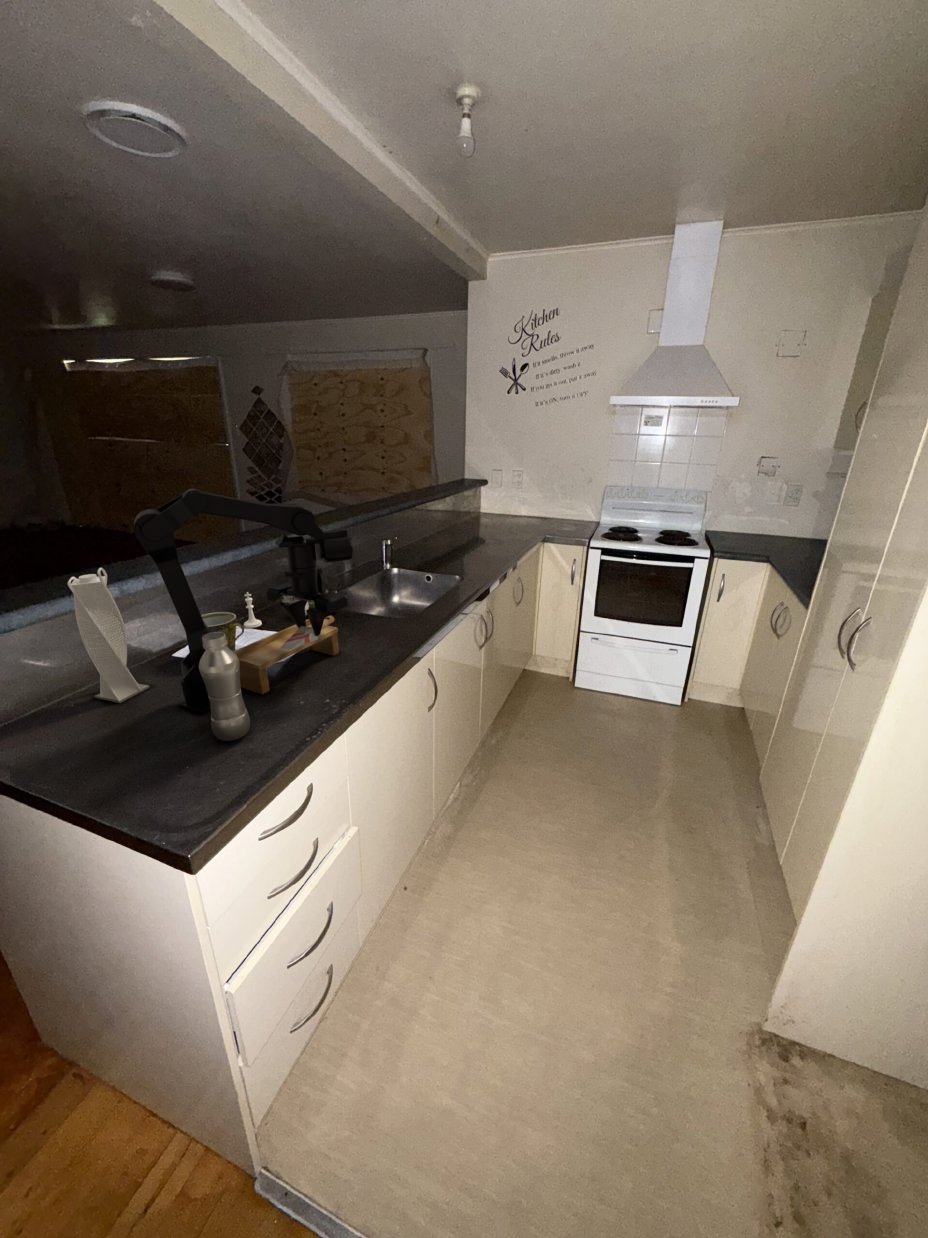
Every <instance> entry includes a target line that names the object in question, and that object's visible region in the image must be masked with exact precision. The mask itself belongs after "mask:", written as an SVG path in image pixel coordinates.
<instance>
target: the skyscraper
mask: <svg viewBox="0 0 928 1238" xmlns="http://www.w3.org/2000/svg"><path fill="white" fill-rule="evenodd" d="M101 572H102V573H101ZM96 573H97V574H96ZM96 573H88V574H83V575H80V576H78V578H77V577H75V576H71V577H70V578H69V579H68V581H67V586H68V588H69V590H70V591H71V592H72V594H73V604H74V605H73V606H74V613H75V619H76V620H75V621H76V624H77V629H78V632H79V635H80V638H81V641H82V643H83V645H84V648H85V649H86V650H85V651H86V652H87V654H88V656H89V659H90V660H91V662H92V664H93V665H94V667H95V668H96V671H97V672H98V674H99V693H98V694H96V695H94V699H98V700H103V701H109V702H113V703H118V704H121V703H123V702H125V701H127V700H128V699H130V698H133V697H135V696H136V695H138V694H140V693H142V692H144V691H146V690H148V689H150V685H148V684H144V683H138V682H137V680H136V678H135V677H134V676H133V675H132V673H131V671H130V670H129V668H128V665H127V664H128V640H127V632H126V626H125V623H124V618H123V616H122V613H121V611H120V608H119V607H118V605H117V602H116V601H115V599H114V597H113V595H112V594H111V592H110V590H109V588H108V585H107V584H108V574H107V572H106V570H105V569H104V568H103V567H99V568H98V569H97V572H96ZM102 574H103V575H102Z"/></svg>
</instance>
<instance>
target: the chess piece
mask: <svg viewBox="0 0 928 1238" xmlns="http://www.w3.org/2000/svg"><path fill="white" fill-rule="evenodd" d="M251 596H252V594H251V593H249V591H247V592H246V593H245V594H244V597H245V599H244V601H245V603H246V606H245V609H248V618H247V620H246V621H244V622H243V627H244V628H245V629H246V628H247V629H254V628H258V627H261V626H262V625H263V623H262V620H261V619H257V618H256V617H255V615H254V611H253V608H254V606H255V605H253V604H252V603H253V598H252V597H251Z"/></svg>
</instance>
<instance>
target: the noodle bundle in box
mask: <svg viewBox="0 0 928 1238" xmlns="http://www.w3.org/2000/svg"><path fill="white" fill-rule="evenodd" d="M334 622H335V617H334V616H333V615H330V616H326V617H325V619H324V622H323V626H322V629H324V628H325V627H327V626H330V625H331V624H333V623H334ZM322 629H321V630H322ZM317 639H318V637H317V636H315V633H314V631H313V629H312V627H304V626H301V627H300V628H299V629H298V630H297V631H296V632H295V633H294V634H293V635H292V636H291V637H290V638H289V639H288V640H287V641H286V642H285V643H284V644H283V645H282V646H281V647H280V648H282V649H294V648H296V647H299V646H302V645H304V644H307V643H309V642H312V641H315V640H317Z"/></svg>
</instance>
